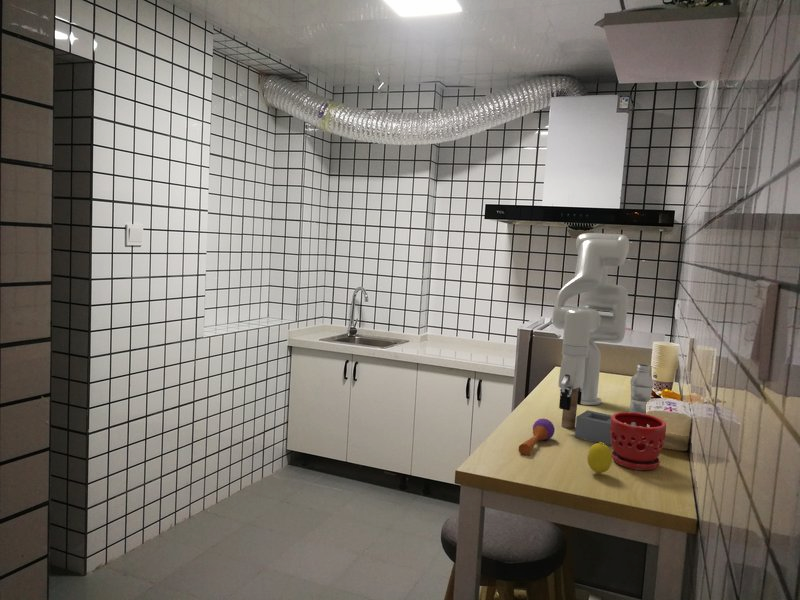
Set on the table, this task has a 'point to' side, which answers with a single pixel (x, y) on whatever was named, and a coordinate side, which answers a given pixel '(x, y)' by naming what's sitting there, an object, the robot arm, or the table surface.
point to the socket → (593, 427)
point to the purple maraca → (538, 435)
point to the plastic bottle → (640, 390)
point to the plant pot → (637, 440)
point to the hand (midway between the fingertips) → (570, 406)
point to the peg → (570, 411)
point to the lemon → (599, 458)
